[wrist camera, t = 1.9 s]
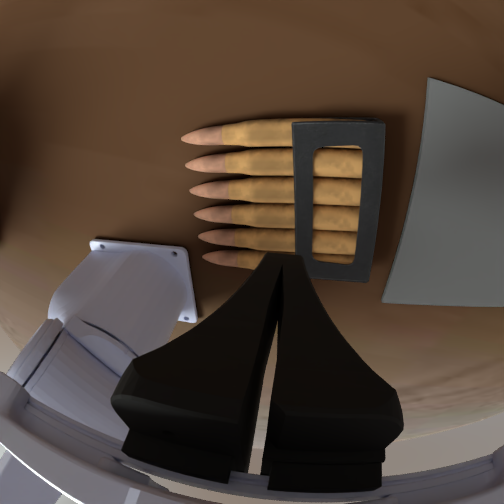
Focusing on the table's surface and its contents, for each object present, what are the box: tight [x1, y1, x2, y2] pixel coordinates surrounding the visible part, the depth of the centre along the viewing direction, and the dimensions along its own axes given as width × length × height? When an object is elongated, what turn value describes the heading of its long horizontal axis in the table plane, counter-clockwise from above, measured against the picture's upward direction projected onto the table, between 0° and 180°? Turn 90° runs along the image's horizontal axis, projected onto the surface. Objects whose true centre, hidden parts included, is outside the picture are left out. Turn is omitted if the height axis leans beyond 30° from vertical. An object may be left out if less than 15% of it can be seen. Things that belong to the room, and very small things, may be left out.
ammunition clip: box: [181, 117, 385, 283], centre depth 18 cm, size 11×2×12 cm
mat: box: [381, 78, 504, 307], centre depth 16 cm, size 15×17×1 cm
